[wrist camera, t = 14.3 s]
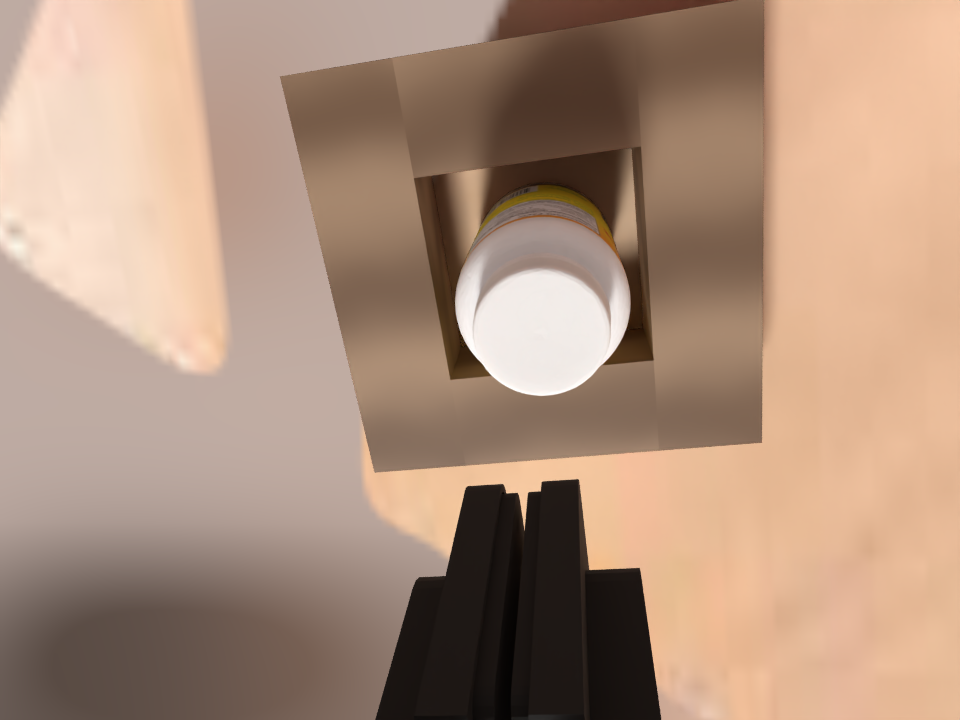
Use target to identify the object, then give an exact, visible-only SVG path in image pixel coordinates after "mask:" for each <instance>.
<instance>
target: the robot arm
mask: <svg viewBox="0 0 960 720" xmlns="http://www.w3.org/2000/svg"><path fill="white" fill-rule="evenodd" d="M376 720H661V715H660V708H659V700H658V693H657V686H656V679H655V671H654V664H653V657H652V650H651V643H650V636H649V629H648V622H647V614H646V607H645V600H644V593H643V586H642V579H641V572H640V568H630V569H606V570H589V565H588V556H587V547H586V538H585V529H584V520H583V511H582V502H581V493H580V485H579V479H576V480H560V481H544V482H542V485H541V492H529V493H528V500H527V511H526V523H525V531H524V525H523V518H522V512H521V505H520V499H519V495H518V493H509V494H506V490H505V487H504V485H503V484H497V485H481V486H468V487H466V490H465V493H464V498H463V502H462V507H461V511H460V515H459V520H458V524H457V528H456V533H455V537H454V542H453V546H452V550H451V555H450V559H449V563H448V568H447V572H446V576H440V577H419V578H418V579H417V580H416V582H415V584H414V587H413V589H412V593H411V596H410V600H409V604H408V607H407V610H406V614H405V618H404V621H403V624H402V628H401V632H400V635H399V639H398V642H397V646H396V649H395V653H394V656H393V660H392V664H391V667H390V670H389V674H388V677H387V681H386V684H385V688H384V691H383V695H382V698H381V702H380V705H379V709H378V712H377V716H376Z"/></svg>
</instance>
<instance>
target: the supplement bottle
mask: <svg viewBox="0 0 960 720" xmlns="http://www.w3.org/2000/svg"><path fill="white" fill-rule="evenodd" d="M455 309H456V317H457V321H458V325H459V329H460V331H461V334H462V336H463V338H464V340H465V342H466V344H467V346H468V347H469V349H470V350H471V352H472V353H473V354H474V356H475V357H476V358H477V359H478V360H479V361H480V362H481V363H482V364H483V366H484V367H485V369H486V370H487V371H488V372H489V373H490V374H491V375H492V376H493V377H494V378H495V379H496V380H498V381H499V382H500V383H501V384H503V385H505V386H506V387H508V388H510V389H512V390H515V391H517V392H521V393H524V394H529V395H537V396H546V395H555V394H559V393H563V392H566V391H569V390H571V389H573V388H576V387H578V386H579V385H581V384H582V383H584V382H585V381H586V380H587V379H589V378H590V377H591V376H592V375H593V374H594V373H595V372H596V370H597V369H598V368H599V367H600V366H601V365H602V364H603V363H604V362H605V361H606V360H607V359H608V358H609V357H610V356H611V355H612V354H613V352H614V351H615V349H616V348H617V346H618V345H619V343H620V342H621V340H622V338H623V336H624V333H625V330H626V328H627V324H628V320H629V315H630V290H629V284H628V280H627V276H626V273H625V270H624V267H623V265H622V261H621V259H620V257H619V254H618V251H617V248H616V245H615V243H614V240H613V237H612V235H611V232H610V229H609V226H608V224H607V222H606V219H605V217H604V216H603V214H602V212H601V211H600V210H599V208H598V207H597V206H596V205H595V204H594V203H593V202H592V201H591V200H590V199H589V198H588V197H586V196H585V195H584V194H582V193H580V192H579V191H577V190H575V189H573V188H571V187H568V186H565V185H561V184H555V183H534V184H530V185H526V186H523V187H520V188H518V189H515V190H513V191H511V192H510V193H508V194H507V195H505V196H504V197H502V198H501V199H500V200H499V201H498V202H497V203H496V204H495V205H494V206H493V207H492V208H491V210H490V211H489V212H488V214H487V215H486V217H485V219H484V221H483V223H482V225H481V227H480V229H479V231H478V233H477V236H476V238H475V240H474V242H473V244H472V247H471V249H470V251H469V253H468V256H467V258H466V260H465V263H464V265H463V267H462V270H461V273H460V276H459V280H458V284H457V288H456V298H455Z"/></svg>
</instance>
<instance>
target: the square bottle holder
mask: <svg viewBox="0 0 960 720" xmlns="http://www.w3.org/2000/svg"><path fill="white" fill-rule="evenodd" d="M280 78H281V83H282V87H283V91H284V95H285V99H286V104H287V108H288V112H289V116H290V120H291V124H292V129H293V133H294V137H295V141H296V145H297V149H298V154H299V158H300V162H301V166H302V170H303V174H304V179H305V183H306V187H307V191H308V196H309V200H310V204H311V208H312V212H313V217H314V221H315V225H316V229H317V233H318V237H319V242H320V246H321V250H322V254H323V258H324V263H325V267H326V271H327V275H328V279H329V284H330V288H331V292H332V296H333V300H334V304H335V308H336V312H337V317H338V321H339V325H340V329H341V334H342V338H343V342H344V346H345V351H346V354H347V359H348V363H349V367H350V371H351V376H352V380H353V384H354V388H355V392H356V396H357V401H358V405H359V409H360V413H361V417H362V422H363V426H364V430H365V434H366V438H367V443H368V447H369V451H370V455H371V459H372V464H373V468H374V472H388V471H401V470H414V469H427V468H440V467H453V466H466V465H479V464H491V463H504V462H517V461H530V460H543V459H556V458H569V457H582V456H595V455H608V454H621V453H634V452H647V451H660V450H673V449H686V448H699V447H712V446H725V445H738V444H750V443H762V321H763V122H764V0H736V1H730V2H724V3H718V4H712V5H706V6H700V7H694V8H688V9H682V10H676V11H670V12H664V13H658V14H652V15H646V16H640V17H634V18H628V19H622V20H616V21H610V22H604V23H598V24H592V25H586V26H580V27H574V28H568V29H562V30H556V31H550V32H544V33H538V34H532V35H526V36H520V37H514V38H508V39H502V40H496V41H490V42H484V43H478V44H472V45H466V46H460V47H454V48H449V49H442V50H437V51H430V52H425V53H418V54H412V55H407V56H400V57H395V58H388V59H383V60H376V61H370V62H365V63H358V64H353V65H347V66H340V67H334V68H329V69H323V70H317V71H311V72H305V73H299V74H293V75H287V76H281V77H280ZM625 148H632V160H633V175H634V191H635V207H636V222H637V238H638V254H639V269H640V285H641V301H642V316H643V329H633V330H625V333H624V336H623V338H622V340H621V342H620V343H619V345H618V346H617V348H616V349H615V351H614V352H613V354H612V355H611V356H610V357H609V358H608V359H607V360H606V361H605V362H604V363H603V364H602V365H601V366H600V367H599V368H598V369H597V370H596V372H595V373H594V374H593V375H592V376H591V377H590V378H589V379H587V380H586V381H585V382H584V383H582V384H581V385H579V386H578V387H576V388H573V389H571V390H569V391H566V392H563V393H559V394H555V395H546V396H537V395H529V394H524V393H521V392H517V391H515V390H512V389H510V388H508V387H506V386H505V385H503V384H501V383H500V382H499V381H498V380H496V379H495V378H494V377H493V376H492V375H491V374H490V373H489V372H488V371H487V370H486V369H485V367H484V366H483V364H482V363H481V362H480V361H479V360H478V359H477V358H476V357H475V356H474V354H473V353H472V352H471V350H470V349H469V347H468V346H467V347H461V345H460V339H459V333H458V327H457V321H456V315H455V310H454V304H453V298H452V292H451V286H450V280H449V275H448V269H447V263H446V257H445V251H444V245H443V239H442V234H441V228H440V222H439V216H438V210H437V204H436V199H435V193H434V187H433V181H432V176H433V175H440V174H447V173H454V172H461V171H468V170H476V169H483V168H490V167H497V166H504V165H511V164H518V163H525V162H533V161H540V160H547V159H554V158H561V157H568V156H575V155H583V154H590V153H597V152H604V151H611V150H618V149H625Z"/></svg>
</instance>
